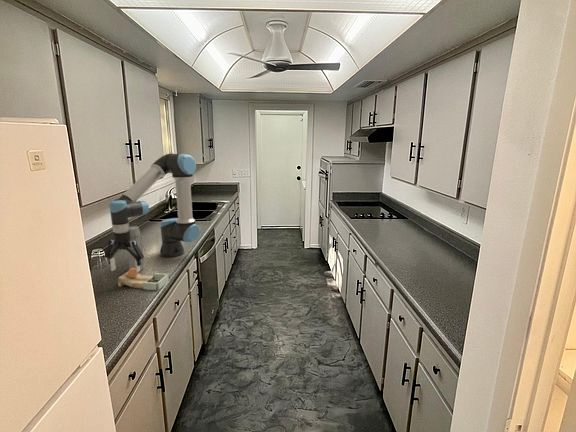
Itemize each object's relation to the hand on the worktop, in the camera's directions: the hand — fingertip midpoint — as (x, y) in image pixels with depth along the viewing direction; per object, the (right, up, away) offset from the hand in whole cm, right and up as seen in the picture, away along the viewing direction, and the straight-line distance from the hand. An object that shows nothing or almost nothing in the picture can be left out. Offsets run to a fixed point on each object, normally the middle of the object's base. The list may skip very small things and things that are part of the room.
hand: (125, 270), depth 168 cm
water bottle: (-2, -3, +18) cm, 19 cm away
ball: (+1, -1, -1) cm, 2 cm away
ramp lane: (+5, -7, +1) cm, 9 cm away
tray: (+16, -7, 0) cm, 18 cm away
